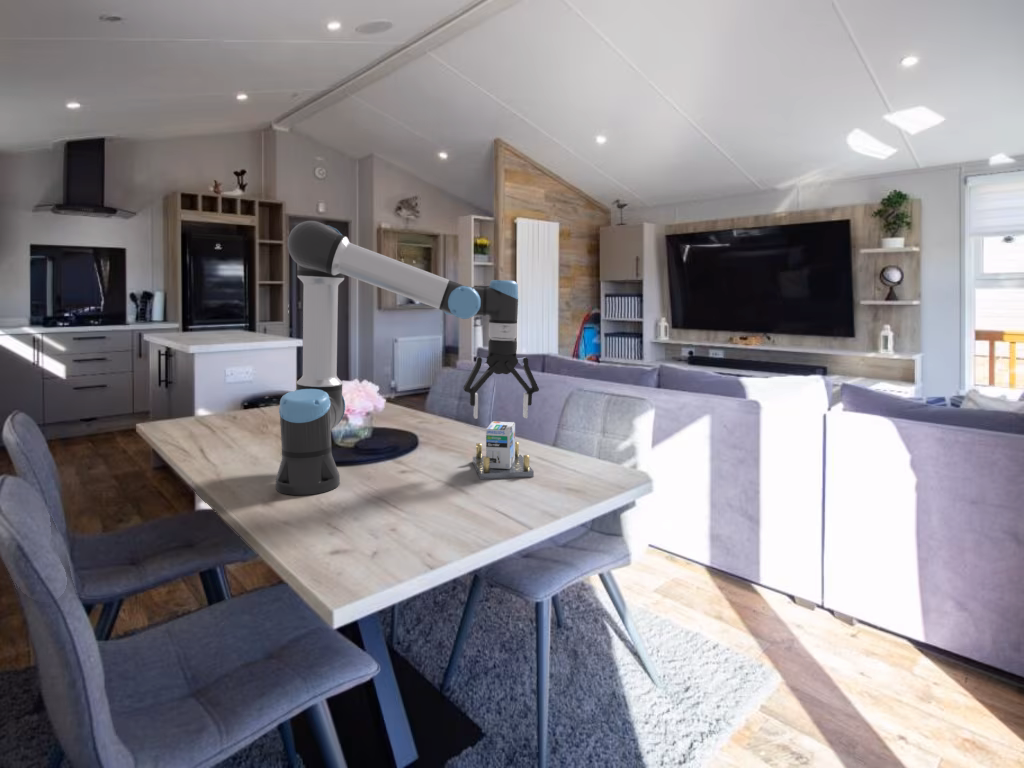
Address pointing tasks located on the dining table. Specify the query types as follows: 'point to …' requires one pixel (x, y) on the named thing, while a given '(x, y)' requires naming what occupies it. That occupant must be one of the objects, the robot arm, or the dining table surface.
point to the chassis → (516, 471)
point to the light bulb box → (500, 444)
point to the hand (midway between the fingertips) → (500, 417)
